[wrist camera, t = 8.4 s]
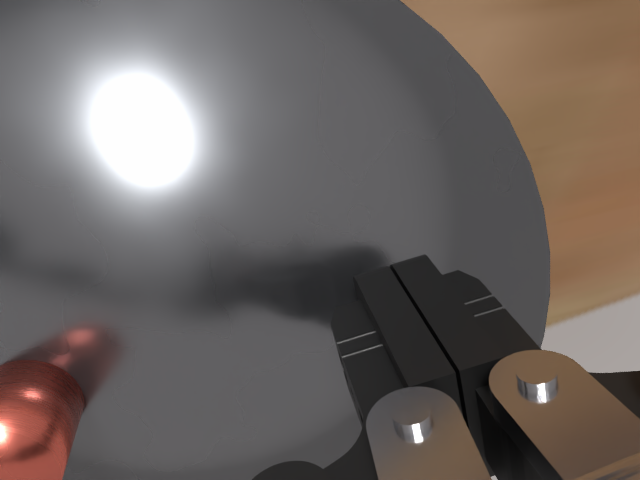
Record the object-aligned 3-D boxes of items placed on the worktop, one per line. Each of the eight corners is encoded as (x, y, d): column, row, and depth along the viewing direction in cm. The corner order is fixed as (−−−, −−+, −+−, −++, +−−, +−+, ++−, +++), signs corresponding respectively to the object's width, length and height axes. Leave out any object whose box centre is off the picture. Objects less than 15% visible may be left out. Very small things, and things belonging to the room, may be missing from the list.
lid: (-739, -192, 8) (-1296, -281, 5) (456, -477, 9) (581, -702, 6) (-31, 647, 17) (-85, 795, 14) (544, 473, 17) (612, 579, 14)
